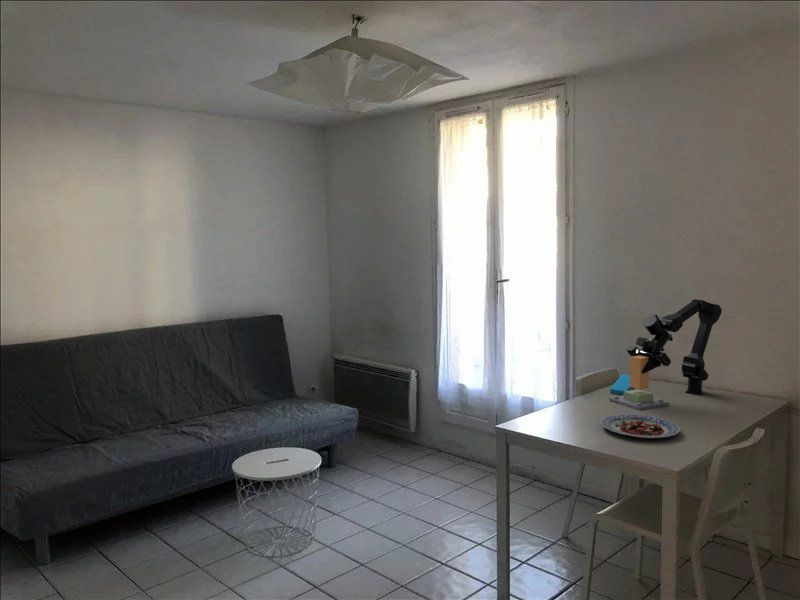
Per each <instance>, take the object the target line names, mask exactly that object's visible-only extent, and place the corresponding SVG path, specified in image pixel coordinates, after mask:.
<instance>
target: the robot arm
mask: <svg viewBox="0 0 800 600" xmlns="http://www.w3.org/2000/svg"><path fill="white" fill-rule="evenodd" d="M696 314H698V319H699V324H698V328H697V331H696V335H695V338H694V342H693V344H692V347H691V348H692V349H691V350H690V353H689V354H688V355H685V356H684V357H683V359H682V363H681V373H682V376H683V377H684V378H687V389H686V390H685V393H687V394H694V395H700V394H701V395H703V393H705V390H703V381H704V382H705V381H706V380H707V381H708V378H709V373H708V372H707V371H706V369H705V365H706V363H705V361H704V355H705V351H706V348H707V344H708V341H709V338H710V335H711V332H712V329H713V326H714V325H715V324H716V323H717V322H718V321H719V319H720V318H721V314H722V308H721V306H720V305H719V304H717V303H716V304H715V303H710V302H708V301H706V300H703V299H699V298H698V299H695V298H694V299H692V300H691V301H690V302H689V303H688V304H686V305H685V306H683V307H682V308H680V309H679V310H677V311H676V312H675V313H673V314H671V313H670V314H668V315H665V316H662V317H661V318H660V317H659V316H658V314H654V313H653V314H651V315H650V316H647V317H646V318H644V319H643V321H642V325H643V327H644V328H645V330H646V331H647V332H648V334H649V335H651V337H649V338H646V337H642V336H638V337H637V338H636V341H635V345H636V346H635V345H634V346H633V345H628V347H627V349H626V352H627V353H628V354H629V356H630V358H631V357H632V356H639V355H640V356H644V357H649V359H648V362H647V364H646V365H645V367H644V368H643V370H642V374H644V373H646V372H648V371H649V372H650V371H652V370H654V369H656V368H659V367H662V366H664V367H669V366H670V365H671V364H672V360H671V358H670V357H669V356H668V354H667V353H666V352H664V351H665V349H664V347H665V345H666V344H667V343H668V342H673V340H674V338H673V334H671V333H677V332H679V330H681V328H683V325H684V323H685V322H686V321H687V320H689V319H691V318H692V317H693V316H694V315H696ZM637 346H639V347H640V348H638V347H637Z"/></svg>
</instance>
